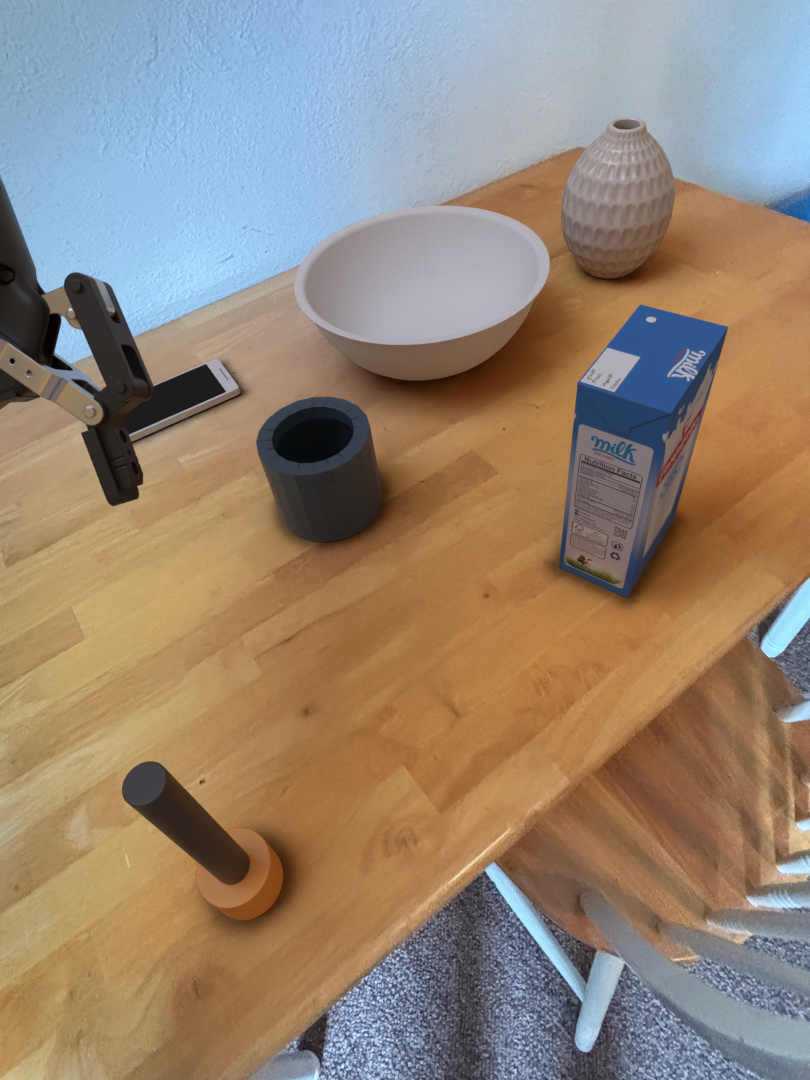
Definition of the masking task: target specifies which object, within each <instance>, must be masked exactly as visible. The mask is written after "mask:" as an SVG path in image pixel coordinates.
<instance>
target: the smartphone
mask: <svg viewBox="0 0 810 1080" xmlns="http://www.w3.org/2000/svg"><path fill="white" fill-rule="evenodd" d="M153 386H154V393H153V396H152V397H151V398H150V399H149V400H147V401H142V402H141V403H139V404H138V405H137V406H136V407H135V408H133V409H132V410H131V411H130V412H129V413H128V415H127V417H126V423H125V424H126V428H127V431H128V434H129V437H130V439H131V442H132V443H133V442H134V441H137V440H139V439H141V438H143V437H146V436H148V435H150V434H152V433H155V432H157V431H160V430H162V429H164V428H166V427H169V426H170V425H173V424H176V423H177V422H180V421H182V420H184V419H186V418H189V417H191V416H193V415H196V414H198V413H201V412H202V411H205V410H207V409H209V408H212V407H214V406H216V405H218V404H221V403H223V402H226V401H227V400H229V399H232V398H234V397H237V396H238V395H240V394H241V389H240V386H239V384H237V382H236V380H235V379H234V378H233V377H232V375H231V374H230V373H229V372H228V370H227V369H226V367H225V366H224V365H223V363H222V362H221V360H219V359H218V358H214V359H211V360H209V361H207V362H204V363H202V364H200V365H198V366H195V367H193V368H190V369H187V370H186V371H183V372H181V373H179V374H176V375H174V376H171V377H169V378H167V379H165V380H162V381H160V382H157V383H155V384H153Z"/></svg>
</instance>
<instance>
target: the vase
mask: <svg viewBox="0 0 810 1080" xmlns="http://www.w3.org/2000/svg"><path fill="white" fill-rule="evenodd" d="M675 194H676V187H675V179H674V174H673V170H672V166H671V163H670V160H669V157H668V155H667V154H666V152H665V151H664V149H663V147H662V146H661V144H660V143H659V142H658V140H657V139H656V138H655V137H654V136H653V135H652V134H651V133H650V131H648V129H647V124H646V122H645V121H644V120H643V119H641V118H638V117H632V116H631V117H630V116H626V117H625V116H623V117H619V118H615V119H613V120H611V121H610V122H609V123H608V124H607V126H606V128H605V131H604V132H602V134H600V135H599V136H598V137H597V138H595V139H594V140H593V141H592V142H591V143H590V144H589V145H588V146H587V147H586V148H585V150H584V151H583V152H582V153H581V154H580V155H579V157H578V158H577V160H576V162H575V164H574V165H573V167H572V169H571V171H570V172H569V175H568V177H567V180H566V184H565V186H564V189H563V194H562V198H561V207H560V208H561V209H560V223H561V224H560V226H561V230H562V235H563V239H564V242H565V244H566V247H567V248H568V252H570V254H571V256H572V258H573V259H574V261H575V262H576V263H577V264H578V265H579V266H580V267H581V268H582V269H583V270H584V271H585V272H586V273H587V274H588V275H590V276H593V277H596V278H597V279H602V280H603V279H605V280H614V279H620V278H623V277H626V276H629V275H630V274H631V273H633V272H634V271H636V270H637V269H638V268H640V267H641V266H642V265H644V263H646V261H647V260H648V259H649V258H650V257H651V256H652V255H653V254H654V253H655V251H657V248H659V246H660V244H661V243H662V242H663V240H664V238H665V235H666V234H667V231H668V229H669V226H670V223H671V220H672V218H673V217H672V216H673V211H674V204H675V198H676V197H675V196H676V195H675Z"/></svg>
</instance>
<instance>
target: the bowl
mask: <svg viewBox="0 0 810 1080" xmlns="http://www.w3.org/2000/svg"><path fill="white" fill-rule="evenodd" d="M550 269H551V259H550V254H549V251H548V248H547V247H546V244H545V243H544V241H543V240H542V238H541V237H540V236H539V235H538V234H536V232H535V231H533V230H532V228H529V226H527V225H525V224H524V223H522V222H520V221H519V220H517V219H514V218H512V217H510V216H507V215H505V214H501V213H498V212H496V211H491V210H487V209H483V208H477V207H470V206H461V205H425V206H423V205H422V206H414V207H406V208H402V209H401V208H400V209H395V210H391V211H387V212H383V213H380V214H375V215H372V216H370V217H366V218H363V219H361V220H358V221H356V222H353V223H351V224H349V225H347V226H345V227H342V228H341V229H339V230H337V231H335V232H334V233H332V234H331V235H329V236H327V237H326V238H325V239H322V241H320V242H319V243H318V244H317V245H316V246H315V247H313V248H312V249H311V250H310V251H309V253H308V254H307V255H306V256H305V257H304V258H303V260H302V261H301V263H300V265H299V267H298V268H297V271H296V274H295V277H294V281H293V293H294V297H295V300H296V303H297V304H298V307H299V308H300V310H301V311H302V312H303V313H304V315H305V316H306V317H307V318H308V319H309V320H310V321H312V322H313V323H314V324H315V325H314V326H316V327H317V329H318V330H319V332H320V333H321V334H322V336H323V337H324V338H325V339H326V340H327V341H328V343H329V344H330V345H332V346H333V348H335V350H337V351H338V352H339V353H340V354H341V355H343V357H345V358H346V359H348V360H349V361H350V362H352V363H354V364H355V365H356V366H357V365H358V366H359V367H360V368H362V369H365V370H367V371H369V372H372V373H374V374H376V375H380V376H383V377H387V378H391V379H396V380H403V381H430V380H432V381H433V380H437V379H443V378H448V377H452V376H454V375H455V376H456V375H458V374H461V373H464V372H467V371H468V370H471V369H472V368H474V367H477V366H478V365H479V366H480V364H482V363H484V362H485V361H487V360H488V359H489V358H491V357H492V356H494V355H496V353H497V352H498V351H500V350H501V349H502V348H503V347H504V346H505V345H506V344H507V343H508V342H509V341H510V340H511V339H512V338H513V336H514V335H515V334H516V333H517V332H518V330H519V329H520V327H521V326H522V324H523V323H524V321H525V319H526V318H527V316H528V315H529V313H530V311H531V309H532V306H533V304H534V303H535V300H536V298H537V296H538V295H540V292H541V291H542V289H543V288H544V286H545V284H546V282H547V281H548V278H549V274H550Z"/></svg>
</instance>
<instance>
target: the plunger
mask: <svg viewBox="0 0 810 1080" xmlns="http://www.w3.org/2000/svg"><path fill="white" fill-rule="evenodd" d="M121 786H122V787H121V795H122V799H123V800H124V801H125V802H126V803H127V804H128V806H130V807H132V808H133V809H134V810H135V811H136V812H137V813H139V815H140V816H142V817H143V818H144V819H146V821H148V822H149V823H150V824H151V825H153V826H154V827H156V829H157V830H159V831H160V832H161V833H162V834H163V835H165V836H166V837H167V838H168V839H169V840H170V841H172V842H173V843H174V844H175V845H176V846H177V847H179V848H180V849H181V850H182V851H184V853H186V854H187V855H188V856H190V857H191V858H192V860H194V861H195V862H197V864H196V871H195V872H196V873H195V879H196V881H195V882H196V885H197V889H198V891H199V893H200V895H201V896H202V898H203V899H204V900H205V902H207V903H208V904H210V905H211V906H213V908H215V909H217V910H218V911H219V912H221V913H222V914H223V915H224V916H226V917H228V918H229V919H232V920H236V921H249V920H253V919H255V918H258V917H260V916H261V915H263V914H265V913H266V912H267V911H268V910H269V909H270V908H271V907H272V906H273V905H274V903H275V902H276V900H277V899H278V897H279V895H280V894H281V890H282V887H283V884H284V868H283V864H282V861H281V859H280V857H279V855H278V854H277V853H276V851H274V849H273V848H272V847H271V846H270V844H269V843H268V842H267V841H266V839H264V837H262V835H260V833H258V832H257V831H255V830H253V829H250V828H246V827H234V828H229V829H227V830H226V829H225V828H224V827H222V825H221V824H220V823H219V822H218V821H216V819H215V818H214V817H213V816H212V815H211V814H210V813H209V812H208V811H207V810H206V809H205V808H204V807H203V805H201V803H200V802H199V801H198V800H196V798H195V797H194V796H193V795H192V794H191V793H190V792H189V791H188V790H187V789H186V788H185V787H184V786H183V785H182V784H181V783H180V782H179V781H178V780H177V779H176V778H175V776H174V775H172V773H170V771H168V769H167V768H166V767H165V766H164V765H163V764H162V763H160V762H159V761H154V760H148V761H143V762H140V763H138V764H137V765H135V766H134V767H133V768H131V769H130V770H129V771H128V772H127V774H126V776H125V777H124V779H123V782H122V785H121Z"/></svg>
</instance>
